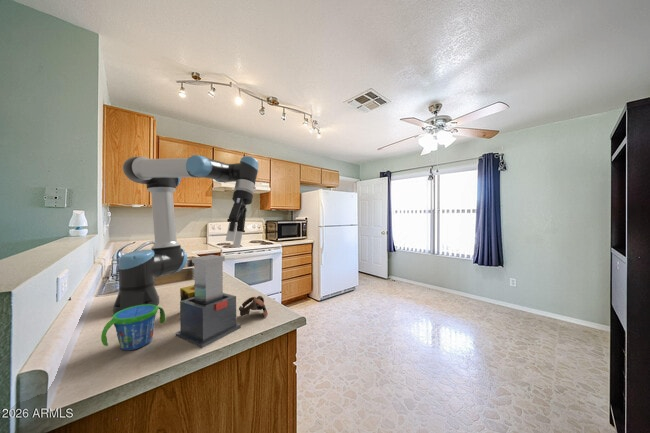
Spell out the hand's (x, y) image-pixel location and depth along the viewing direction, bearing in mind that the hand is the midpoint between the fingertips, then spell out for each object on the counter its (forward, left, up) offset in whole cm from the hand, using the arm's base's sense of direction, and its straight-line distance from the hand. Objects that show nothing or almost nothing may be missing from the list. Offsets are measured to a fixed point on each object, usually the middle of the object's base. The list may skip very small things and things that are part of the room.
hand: (233, 244), depth 88 cm
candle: (-10, -13, -28) cm, 33 cm away
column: (+9, -8, -26) cm, 29 cm away
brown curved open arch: (+1, +8, -28) cm, 29 cm away
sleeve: (+9, -7, -28) cm, 30 cm away
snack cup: (+10, -27, -28) cm, 40 cm away
